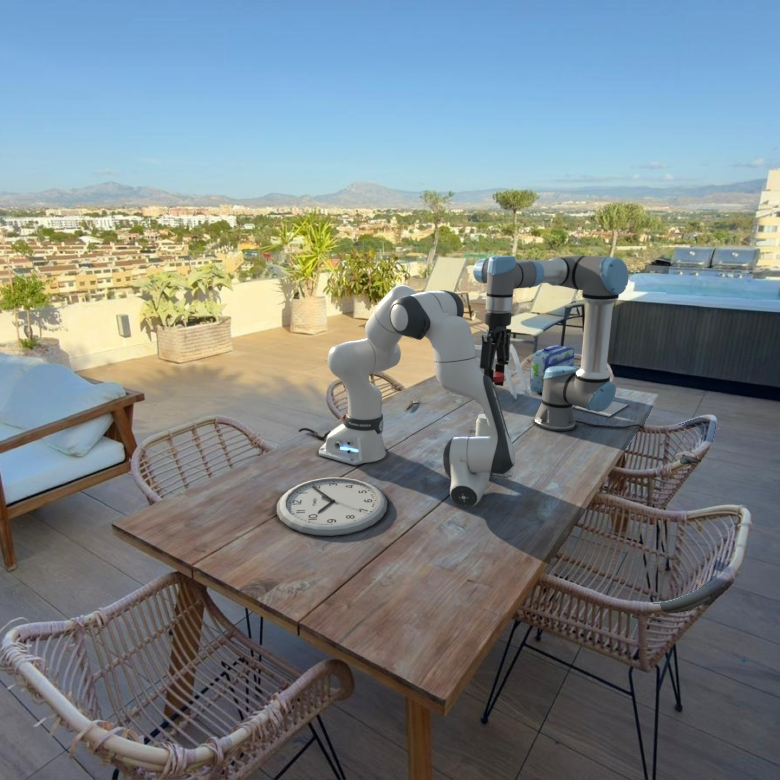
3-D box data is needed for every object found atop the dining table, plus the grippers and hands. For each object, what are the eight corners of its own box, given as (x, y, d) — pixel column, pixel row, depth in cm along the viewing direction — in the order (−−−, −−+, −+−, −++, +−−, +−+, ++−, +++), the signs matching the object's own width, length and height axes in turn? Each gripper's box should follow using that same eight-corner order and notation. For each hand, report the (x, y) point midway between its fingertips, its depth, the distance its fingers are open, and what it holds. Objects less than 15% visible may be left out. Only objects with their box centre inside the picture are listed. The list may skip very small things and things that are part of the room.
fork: (403, 410, 217) (403, 406, 216) (415, 399, 231) (415, 395, 231) (409, 411, 216) (409, 406, 215) (420, 400, 230) (420, 395, 230)
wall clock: (392, 527, 129) (268, 531, 127) (391, 533, 130) (269, 537, 127) (383, 473, 158) (282, 475, 155) (383, 478, 158) (282, 480, 156)
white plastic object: (461, 429, 252) (437, 405, 227) (444, 352, 274) (420, 323, 250) (535, 404, 240) (518, 377, 215) (510, 326, 262) (492, 293, 237)
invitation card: (608, 416, 214) (573, 407, 224) (608, 416, 214) (573, 408, 224) (628, 404, 229) (594, 396, 238) (628, 405, 229) (594, 397, 238)
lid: (491, 375, 161) (491, 370, 160) (508, 379, 157) (508, 374, 156) (479, 379, 157) (479, 374, 156) (496, 384, 153) (496, 378, 152)
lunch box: (546, 398, 236) (551, 353, 229) (525, 393, 243) (529, 349, 237) (573, 387, 253) (579, 344, 247) (553, 382, 260) (558, 341, 254)
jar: (488, 478, 160) (493, 420, 154) (471, 475, 161) (475, 418, 156) (490, 470, 165) (495, 414, 159) (474, 468, 166) (478, 412, 161)
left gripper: (512, 467, 145) (518, 448, 158) (441, 456, 152) (451, 439, 164) (510, 488, 147) (516, 467, 160) (440, 476, 154) (450, 457, 166)
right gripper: (502, 305, 160) (497, 378, 167) (469, 313, 146) (465, 392, 153) (525, 308, 155) (519, 382, 162) (493, 316, 141) (488, 397, 148)
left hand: (483, 453), depth 162 cm, fingers closed on jar, 5 cm apart
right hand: (493, 387), depth 158 cm, fingers closed on lid, 6 cm apart
